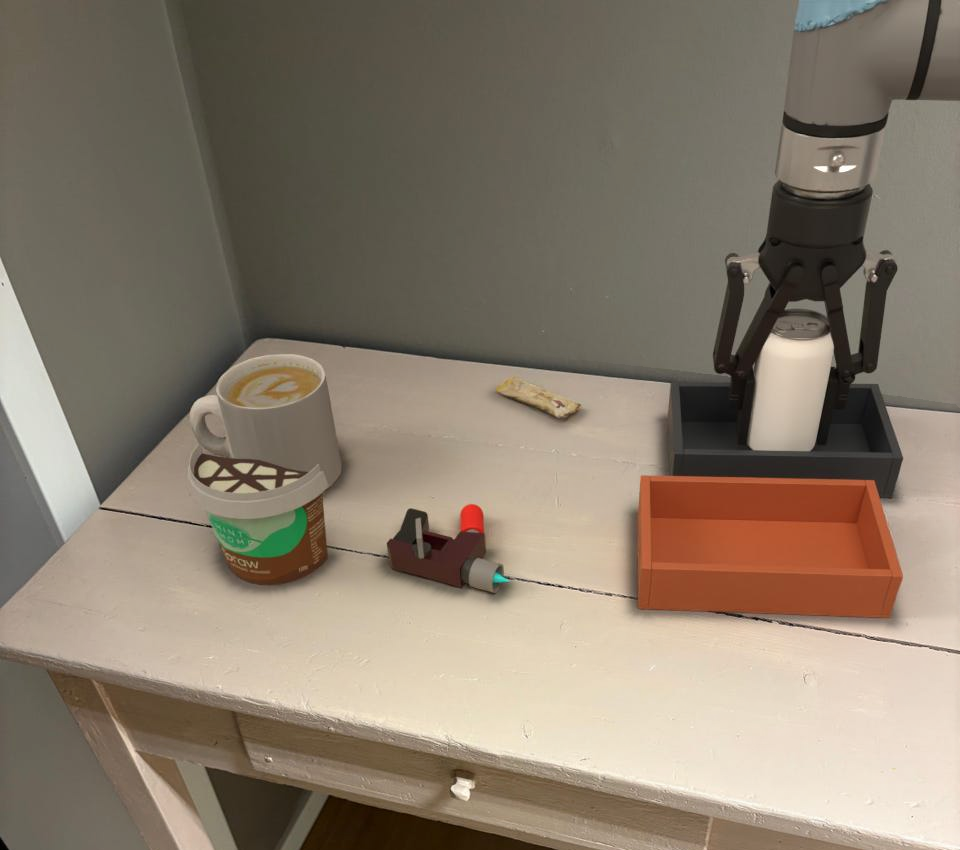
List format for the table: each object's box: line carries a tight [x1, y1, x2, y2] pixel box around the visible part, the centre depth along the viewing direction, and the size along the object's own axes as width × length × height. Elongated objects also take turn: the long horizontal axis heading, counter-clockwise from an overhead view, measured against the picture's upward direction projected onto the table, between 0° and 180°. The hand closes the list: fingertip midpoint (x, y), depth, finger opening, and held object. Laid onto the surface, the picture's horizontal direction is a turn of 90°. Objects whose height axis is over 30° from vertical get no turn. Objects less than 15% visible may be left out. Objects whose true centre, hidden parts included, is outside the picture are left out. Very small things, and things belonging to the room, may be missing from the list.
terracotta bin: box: [637, 474, 904, 619], centre depth 82 cm, size 20×13×4 cm, turn 84°
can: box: [747, 308, 834, 451], centre depth 89 cm, size 6×6×12 cm
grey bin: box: [666, 381, 904, 499], centre depth 93 cm, size 20×13×4 cm, turn 84°
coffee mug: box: [189, 353, 343, 491], centre depth 94 cm, size 13×10×10 cm
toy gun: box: [386, 503, 511, 593], centre depth 85 cm, size 10×12×5 cm
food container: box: [187, 442, 329, 586], centre depth 83 cm, size 12×6×10 cm, turn 70°
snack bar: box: [495, 376, 582, 419], centre depth 103 cm, size 10×2×3 cm
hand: (780, 436), depth 93 cm, fingers closed on can, 6 cm apart
